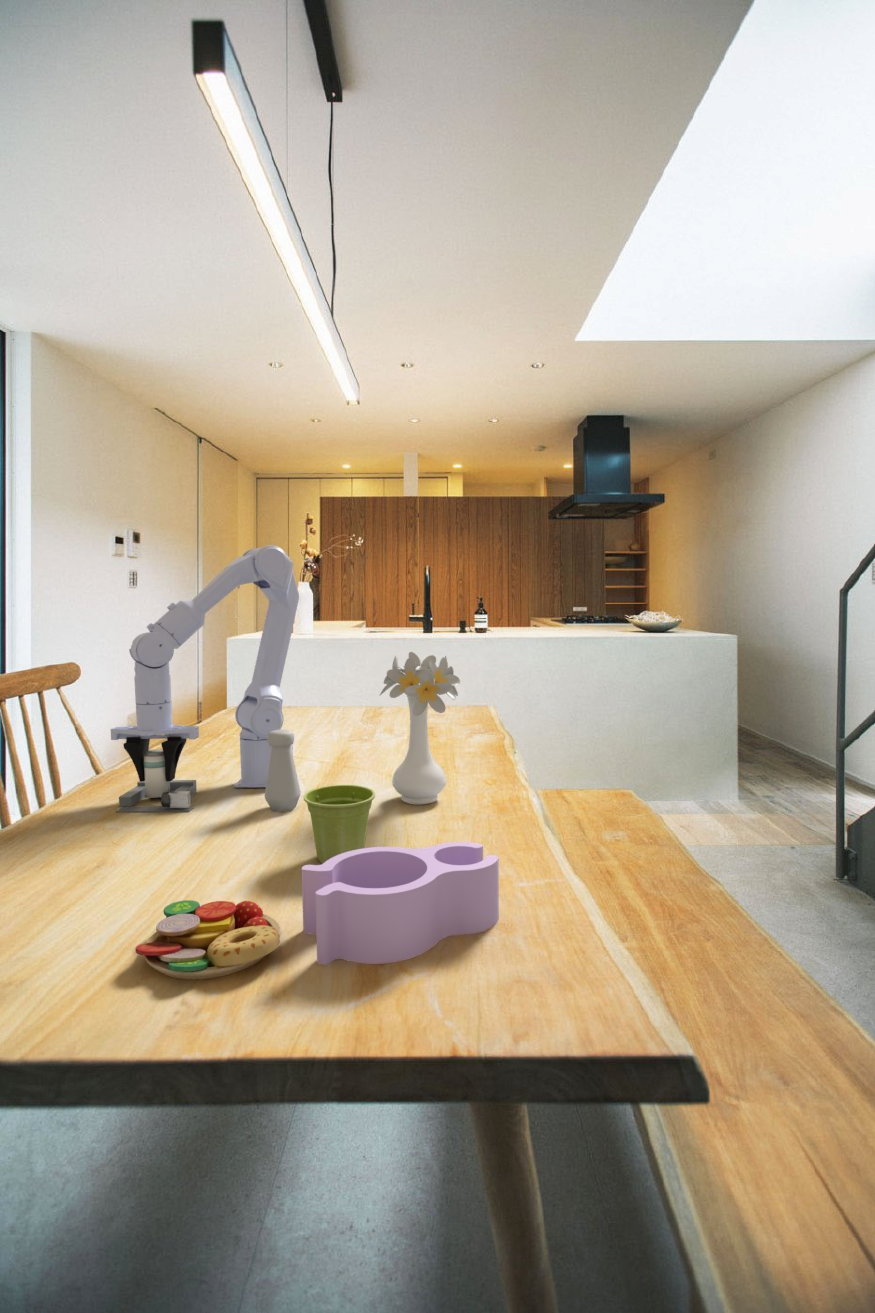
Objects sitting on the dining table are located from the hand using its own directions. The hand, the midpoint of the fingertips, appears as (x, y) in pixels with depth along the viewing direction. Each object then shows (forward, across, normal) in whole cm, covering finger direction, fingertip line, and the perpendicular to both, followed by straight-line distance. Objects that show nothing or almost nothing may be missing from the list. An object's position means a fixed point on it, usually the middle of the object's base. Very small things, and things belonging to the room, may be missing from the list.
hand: (157, 780), depth 120 cm
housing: (+3, +2, -2) cm, 4 cm away
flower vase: (+4, +46, -2) cm, 46 cm away
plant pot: (+4, +36, -28) cm, 46 cm away
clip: (+4, +46, -47) cm, 66 cm away
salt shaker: (+4, +23, -6) cm, 24 cm away
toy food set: (+4, +27, -52) cm, 58 cm away
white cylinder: (+2, 0, 0) cm, 2 cm away
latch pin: (+3, +6, -6) cm, 9 cm away
